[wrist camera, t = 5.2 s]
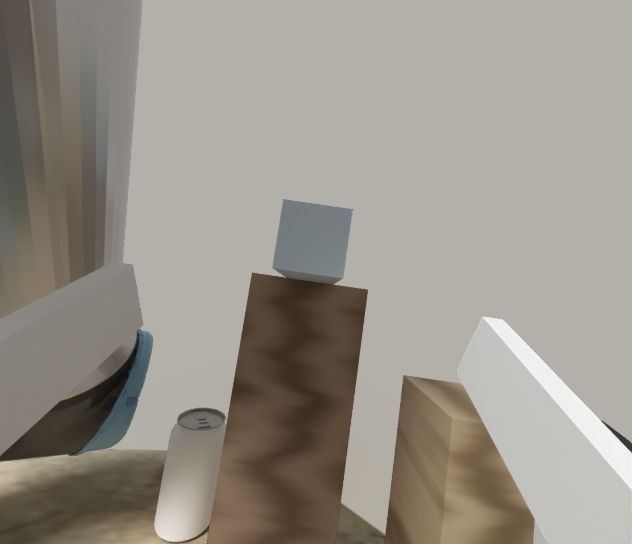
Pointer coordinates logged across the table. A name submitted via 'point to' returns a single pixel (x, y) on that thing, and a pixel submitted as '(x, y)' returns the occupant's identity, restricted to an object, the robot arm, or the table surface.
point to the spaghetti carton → (312, 242)
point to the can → (190, 475)
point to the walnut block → (289, 414)
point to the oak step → (450, 474)
